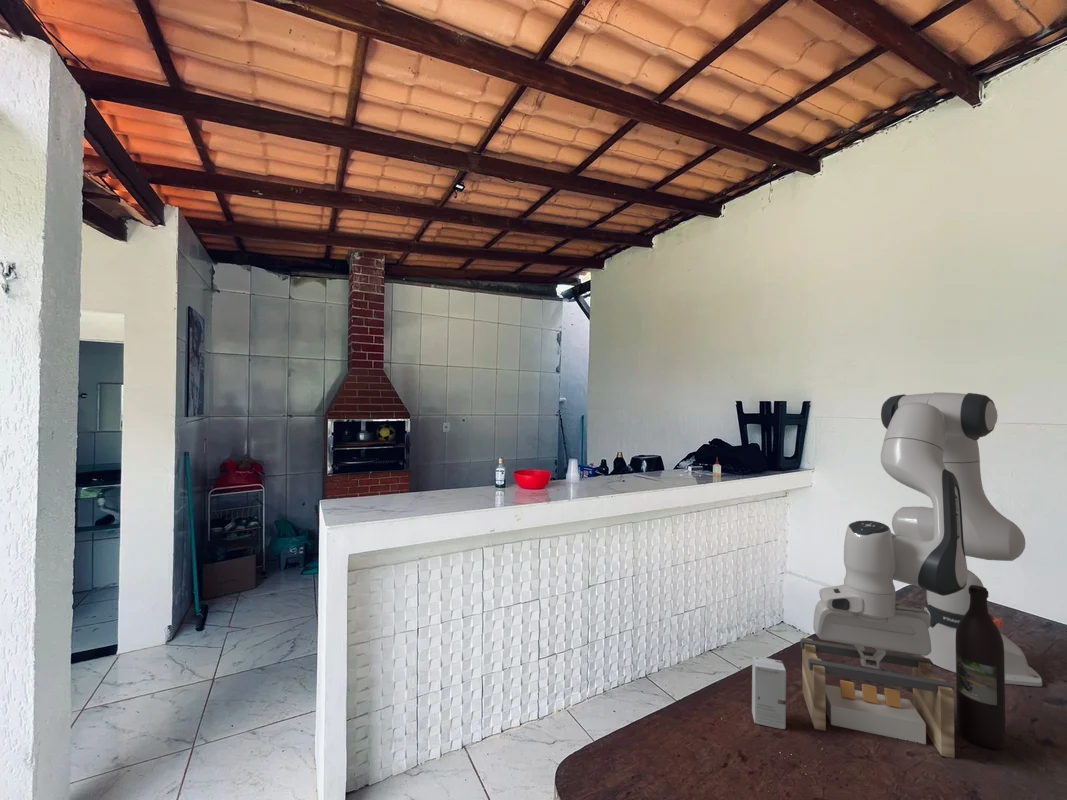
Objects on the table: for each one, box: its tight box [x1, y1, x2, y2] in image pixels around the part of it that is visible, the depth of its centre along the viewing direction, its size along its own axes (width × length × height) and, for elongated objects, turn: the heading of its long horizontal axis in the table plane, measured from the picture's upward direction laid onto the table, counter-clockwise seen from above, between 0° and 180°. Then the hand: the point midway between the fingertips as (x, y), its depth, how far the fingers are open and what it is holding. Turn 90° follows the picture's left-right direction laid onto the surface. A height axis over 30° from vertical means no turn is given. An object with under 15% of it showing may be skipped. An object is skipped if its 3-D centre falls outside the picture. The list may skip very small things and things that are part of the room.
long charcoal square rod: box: [800, 638, 934, 671], centre depth 102 cm, size 24×2×2 cm, turn 69°
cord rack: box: [801, 637, 956, 759], centre depth 98 cm, size 23×13×13 cm, turn 69°
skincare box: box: [751, 655, 787, 730], centre depth 98 cm, size 6×4×12 cm
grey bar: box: [808, 659, 955, 692], centre depth 94 cm, size 24×2×2 cm, turn 69°
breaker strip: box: [825, 684, 927, 745], centre depth 98 cm, size 16×8×4 cm, turn 69°
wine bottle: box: [955, 585, 1007, 750], centre depth 93 cm, size 7×7×30 cm
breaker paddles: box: [839, 679, 901, 708], centre depth 98 cm, size 10×1×3 cm, turn 69°
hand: (869, 666), depth 98 cm, fingers closed
